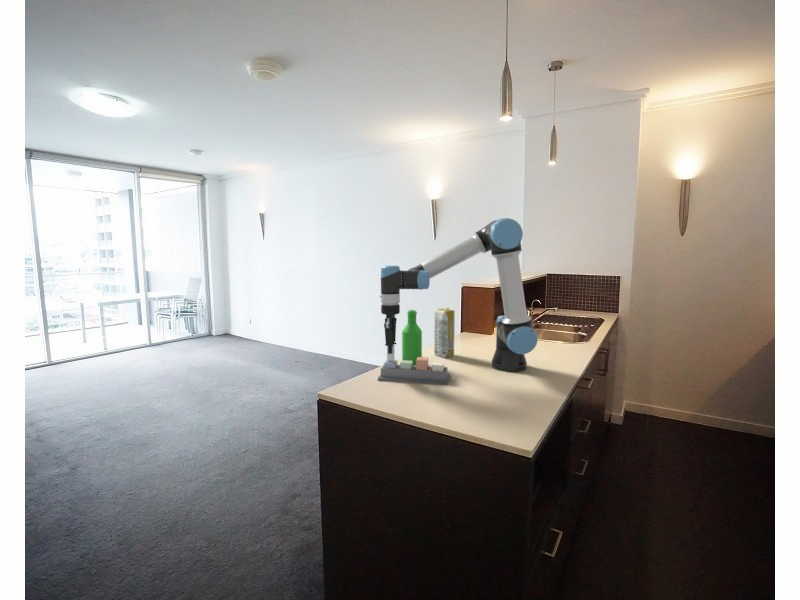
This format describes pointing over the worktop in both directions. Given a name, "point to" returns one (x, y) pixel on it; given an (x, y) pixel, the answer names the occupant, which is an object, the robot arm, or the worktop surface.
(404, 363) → the key sage
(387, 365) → the key slate
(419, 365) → the key terracotta
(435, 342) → the juice carton
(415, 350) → the bottle
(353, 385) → the worktop surface
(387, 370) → the keypad
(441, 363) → the key cream
